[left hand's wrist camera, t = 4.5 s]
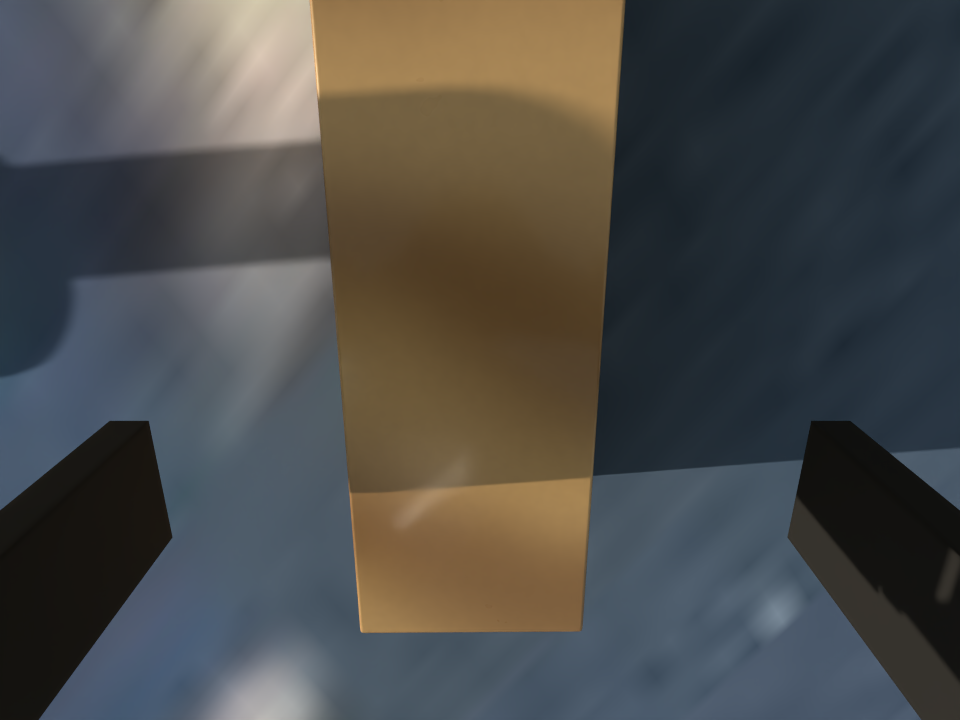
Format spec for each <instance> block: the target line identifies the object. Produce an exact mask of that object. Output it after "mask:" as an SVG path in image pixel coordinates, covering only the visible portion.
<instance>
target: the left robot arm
mask: <svg viewBox="0 0 960 720" xmlns="http://www.w3.org/2000/svg"><path fill="white" fill-rule="evenodd" d="M171 539H172V533H171V528H170V523H169V518H168V513H167V509H166V504H165V499H164V494H163V489H162V484H161V479H160V474H159V470H158V465H157V460H156V455H155V450H154V445H153V440H152V435H151V431H150V426H149V421H109V422H108V423H107V424H106V425H104V426H103V427H102V428H101V429H99V430H98V431H97V432H96V433H95V434H93V435H92V436H91V437H90V438H88V439H87V440H86V441H85V442H83V443H82V444H81V445H80V446H79V447H77V448H76V449H75V450H74V451H72V452H71V453H70V454H69V455H68V456H66V457H65V458H64V459H63V460H61V461H60V462H59V463H58V464H57V465H55V466H54V467H53V468H52V469H50V470H49V471H48V472H47V473H46V474H44V475H43V476H42V477H41V478H39V479H38V480H37V481H36V482H35V483H33V484H32V485H31V486H30V487H28V488H27V489H26V490H25V491H23V492H22V493H21V494H20V495H19V496H17V497H16V498H15V499H14V500H12V501H11V502H10V503H9V504H8V505H6V506H5V507H4V508H3V509H1V510H0V720H39V718H40V717H41V716H42V714H43V713H44V712H45V710H46V709H47V707H48V706H49V705H50V703H51V702H52V701H53V699H54V698H55V697H56V695H57V694H58V692H59V691H60V690H61V688H62V687H63V686H64V684H65V683H66V682H67V680H68V679H69V677H70V676H71V675H72V673H73V672H74V671H75V669H76V668H77V667H78V665H79V664H80V663H81V661H82V660H83V658H84V657H85V656H86V654H87V653H88V652H89V650H90V649H91V648H92V646H93V645H94V643H95V642H96V641H97V639H98V638H99V637H100V635H101V634H102V633H103V631H104V630H105V628H106V627H107V626H108V624H109V623H110V622H111V620H112V619H113V618H114V616H115V615H116V614H117V612H118V611H119V609H120V608H121V607H122V605H123V604H124V603H125V601H126V600H127V599H128V597H129V596H130V594H131V593H132V592H133V590H134V589H135V588H136V586H137V585H138V584H139V582H140V581H141V579H142V578H143V577H144V575H145V574H146V573H147V571H148V570H149V569H150V567H151V566H152V565H153V563H154V562H155V560H156V559H157V558H158V556H159V555H160V554H161V552H162V551H163V550H164V548H165V547H166V545H167V544H168V543H169V541H170V540H171ZM788 539H789V540H790V541H791V543H792V544H793V545H794V547H795V548H796V550H797V551H798V552H799V554H800V555H801V556H802V558H803V559H804V560H805V562H806V563H807V565H808V566H809V567H810V569H811V570H812V571H813V573H814V574H815V575H816V577H817V578H818V579H819V581H820V582H821V584H822V585H823V586H824V588H825V589H826V590H827V592H828V593H829V594H830V596H831V597H832V599H833V600H834V601H835V603H836V604H837V605H838V607H839V608H840V609H841V611H842V612H843V614H844V615H845V616H846V618H847V619H848V620H849V622H850V623H851V624H852V626H853V627H854V628H855V630H856V631H857V633H858V634H859V635H860V637H861V638H862V639H863V641H864V642H865V643H866V645H867V646H868V648H869V649H870V650H871V652H872V653H873V654H874V656H875V657H876V658H877V660H878V661H879V663H880V664H881V665H882V667H883V668H884V669H885V671H886V672H887V673H888V675H889V676H890V677H891V679H892V680H893V682H894V683H895V684H896V686H897V687H898V688H899V690H900V691H901V692H902V694H903V695H904V697H905V698H906V699H907V701H908V702H909V703H910V705H911V706H912V707H913V709H914V710H915V712H916V713H917V714H918V716H919V717H920V718H921V720H960V510H959V509H957V508H956V507H955V506H954V505H952V504H951V503H950V502H949V501H948V500H946V499H945V498H944V497H943V496H941V495H940V494H939V493H938V492H937V491H935V490H934V489H933V488H932V487H930V486H929V485H928V484H927V483H925V482H924V481H923V480H922V479H921V478H919V477H918V476H917V475H916V474H914V473H913V472H912V471H911V470H910V469H908V468H907V467H906V466H905V465H903V464H902V463H901V462H900V461H899V460H897V459H896V458H895V457H894V456H892V455H891V454H890V453H889V452H888V451H886V450H885V449H884V448H883V447H881V446H880V445H879V444H878V443H877V442H875V441H874V440H873V439H872V438H870V437H869V436H868V435H867V434H865V433H864V432H863V431H862V430H861V429H859V428H858V427H857V426H856V425H854V424H853V423H852V422H851V421H811V426H810V431H809V435H808V440H807V445H806V450H805V455H804V460H803V465H802V470H801V474H800V479H799V484H798V489H797V494H796V499H795V504H794V509H793V513H792V518H791V523H790V528H789V533H788Z"/></svg>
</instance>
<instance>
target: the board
mask: <svg viewBox="0 0 960 720" xmlns="http://www.w3.org/2000/svg"><path fill="white" fill-rule="evenodd" d="M625 1H626V0H310V11H311V23H312V35H313V48H314V60H315V73H316V85H317V97H318V110H319V122H320V135H321V147H322V159H323V172H324V184H325V197H326V209H327V221H328V234H329V246H330V258H331V271H332V283H333V296H334V308H335V320H336V333H337V345H338V358H339V370H340V382H341V395H342V407H343V420H344V432H345V444H346V457H347V469H348V481H349V494H350V506H351V519H352V531H353V543H354V556H355V568H356V581H357V593H358V605H359V618H360V630H361V632H363V633H399V632H559V631H581V630H582V626H583V612H584V597H585V583H586V568H587V554H588V539H589V524H590V510H591V495H592V481H593V466H594V452H595V437H596V423H597V408H598V394H599V379H600V365H601V350H602V335H603V321H604V306H605V292H606V277H607V263H608V248H609V234H610V219H611V205H612V190H613V175H614V161H615V146H616V132H617V117H618V103H619V88H620V74H621V59H622V45H623V30H624V16H625Z"/></svg>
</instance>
